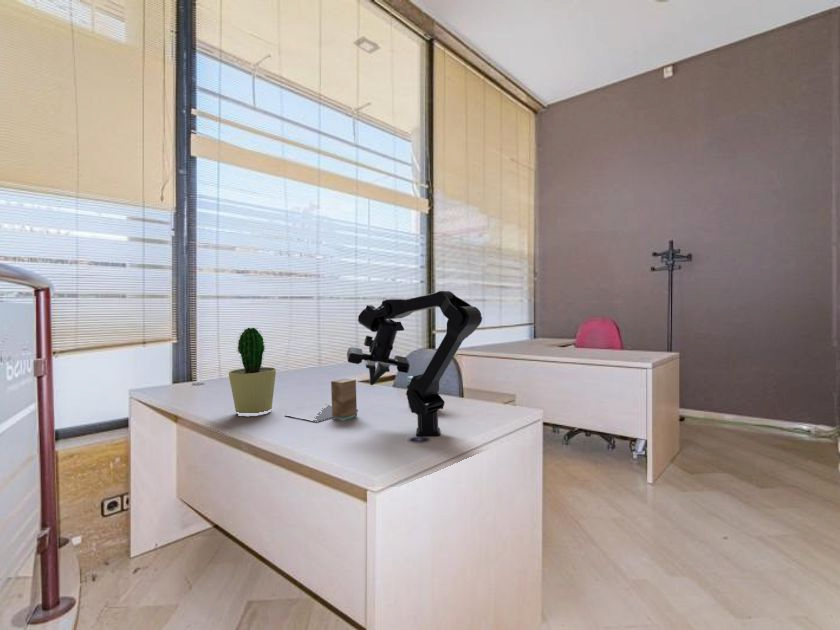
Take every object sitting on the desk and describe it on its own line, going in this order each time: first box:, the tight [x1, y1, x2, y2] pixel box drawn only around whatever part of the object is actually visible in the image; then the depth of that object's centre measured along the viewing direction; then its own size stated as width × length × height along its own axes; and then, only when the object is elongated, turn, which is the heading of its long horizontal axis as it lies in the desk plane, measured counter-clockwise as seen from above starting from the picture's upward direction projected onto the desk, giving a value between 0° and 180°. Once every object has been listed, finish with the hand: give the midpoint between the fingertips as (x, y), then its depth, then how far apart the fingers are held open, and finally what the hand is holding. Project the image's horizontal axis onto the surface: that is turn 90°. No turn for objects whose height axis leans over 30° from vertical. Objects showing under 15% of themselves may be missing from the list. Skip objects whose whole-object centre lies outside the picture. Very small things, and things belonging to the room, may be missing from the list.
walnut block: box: [330, 378, 358, 421], centre depth 143 cm, size 5×6×12 cm
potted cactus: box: [227, 326, 277, 413], centre depth 153 cm, size 15×15×30 cm
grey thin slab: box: [313, 404, 359, 422], centre depth 150 cm, size 16×18×1 cm
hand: (371, 384), depth 138 cm, fingers closed
